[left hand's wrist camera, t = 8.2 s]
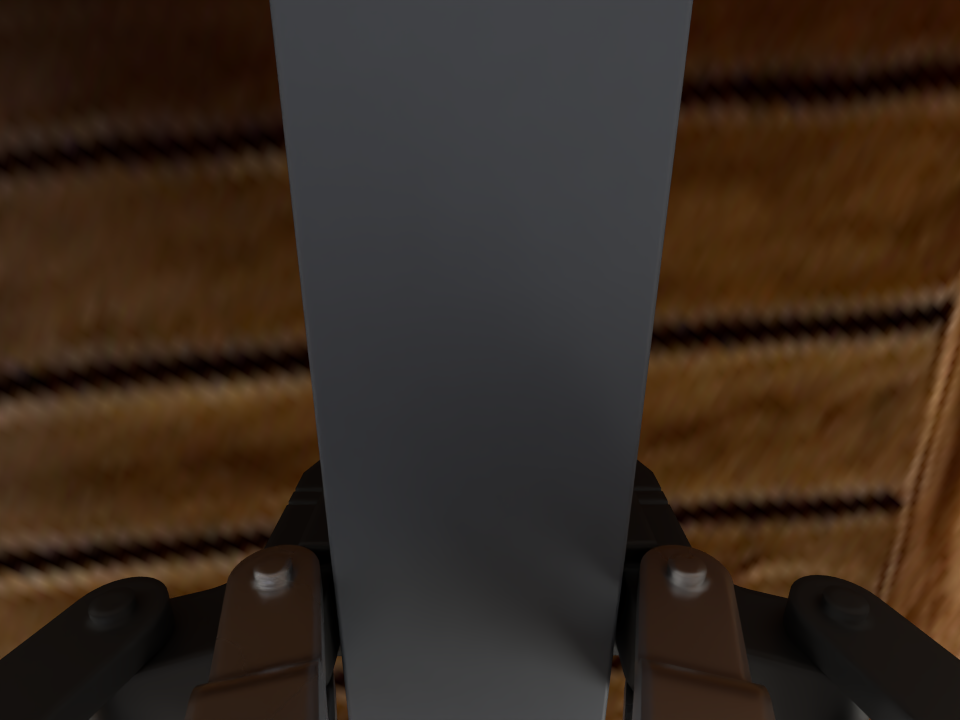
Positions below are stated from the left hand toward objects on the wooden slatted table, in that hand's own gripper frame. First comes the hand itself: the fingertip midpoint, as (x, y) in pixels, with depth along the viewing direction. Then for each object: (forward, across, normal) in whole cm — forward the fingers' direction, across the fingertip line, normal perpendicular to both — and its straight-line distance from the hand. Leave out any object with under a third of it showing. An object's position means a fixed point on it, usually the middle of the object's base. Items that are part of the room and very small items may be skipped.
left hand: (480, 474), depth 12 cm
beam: (+2, 0, +23) cm, 23 cm away
